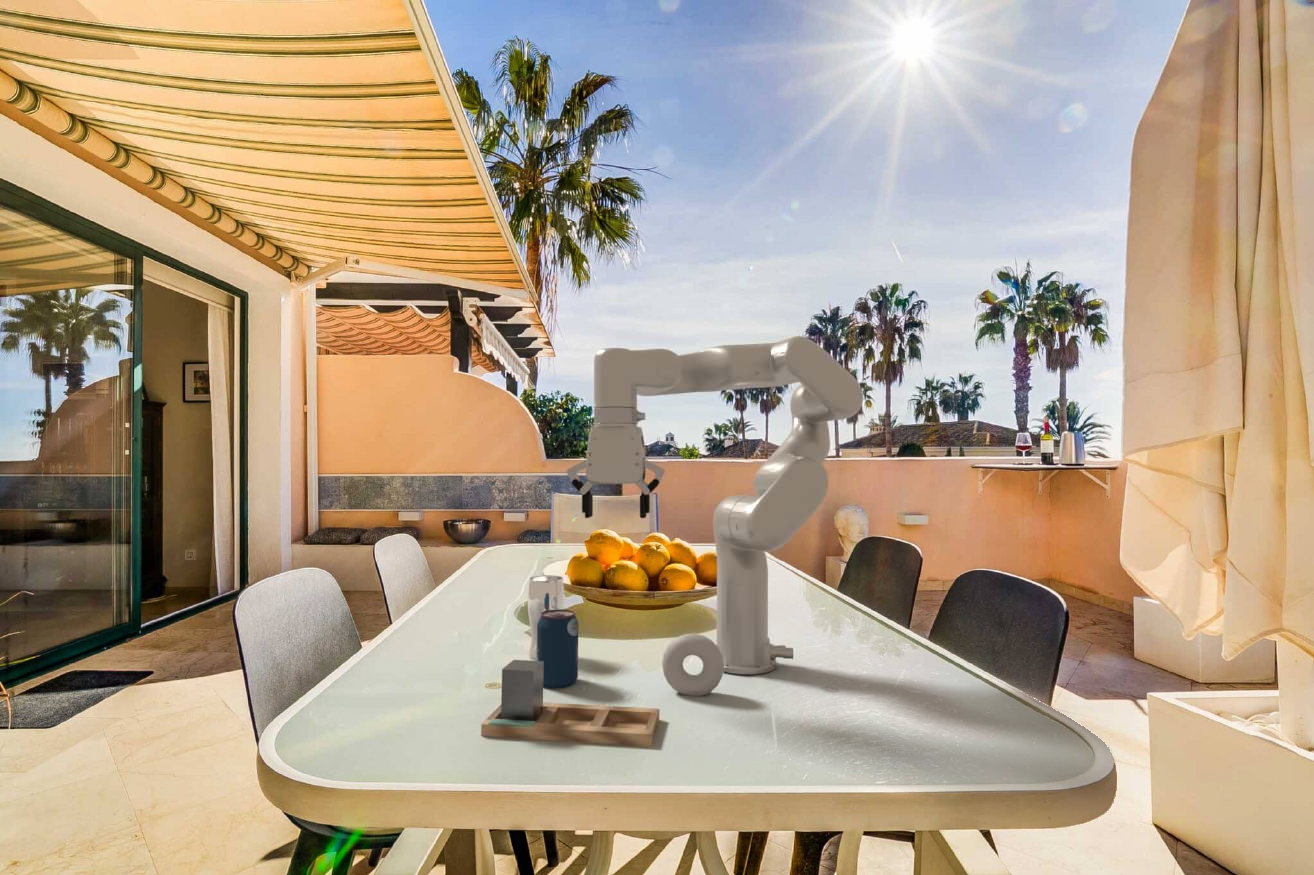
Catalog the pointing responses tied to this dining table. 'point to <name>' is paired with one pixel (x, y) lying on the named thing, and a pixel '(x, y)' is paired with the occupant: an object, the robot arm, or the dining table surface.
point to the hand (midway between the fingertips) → (615, 517)
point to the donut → (684, 680)
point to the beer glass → (543, 602)
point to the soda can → (558, 647)
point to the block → (522, 690)
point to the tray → (580, 724)
